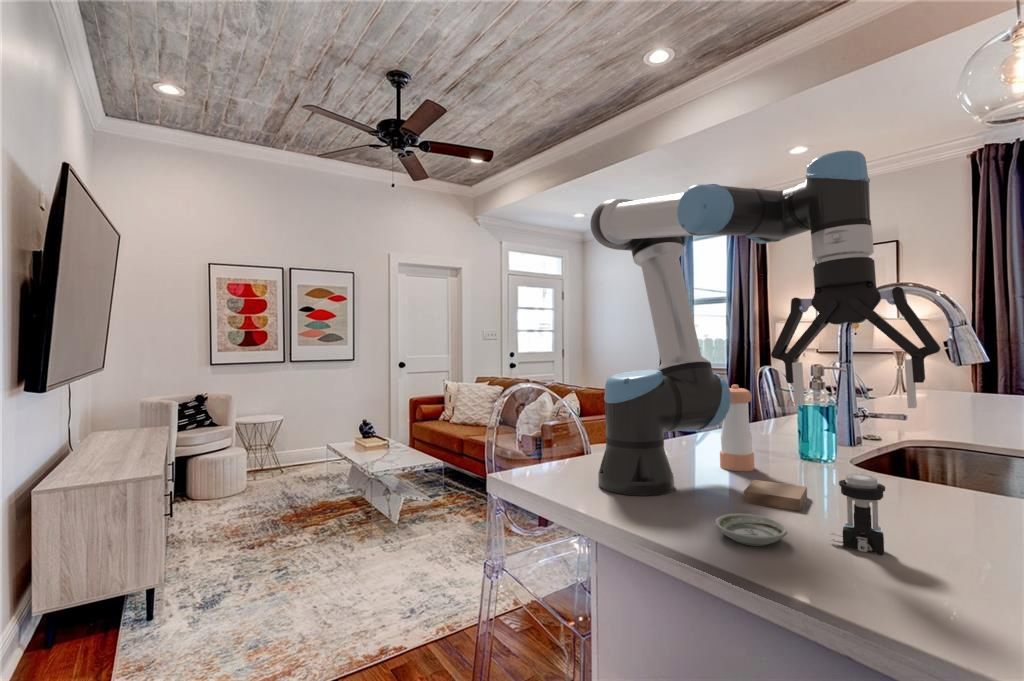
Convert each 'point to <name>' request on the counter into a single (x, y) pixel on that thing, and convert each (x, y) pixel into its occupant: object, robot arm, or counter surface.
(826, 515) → the counter surface
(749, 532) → the saucer
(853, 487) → the push button
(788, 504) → the wooden block
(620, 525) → the counter surface
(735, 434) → the pepper shaker
